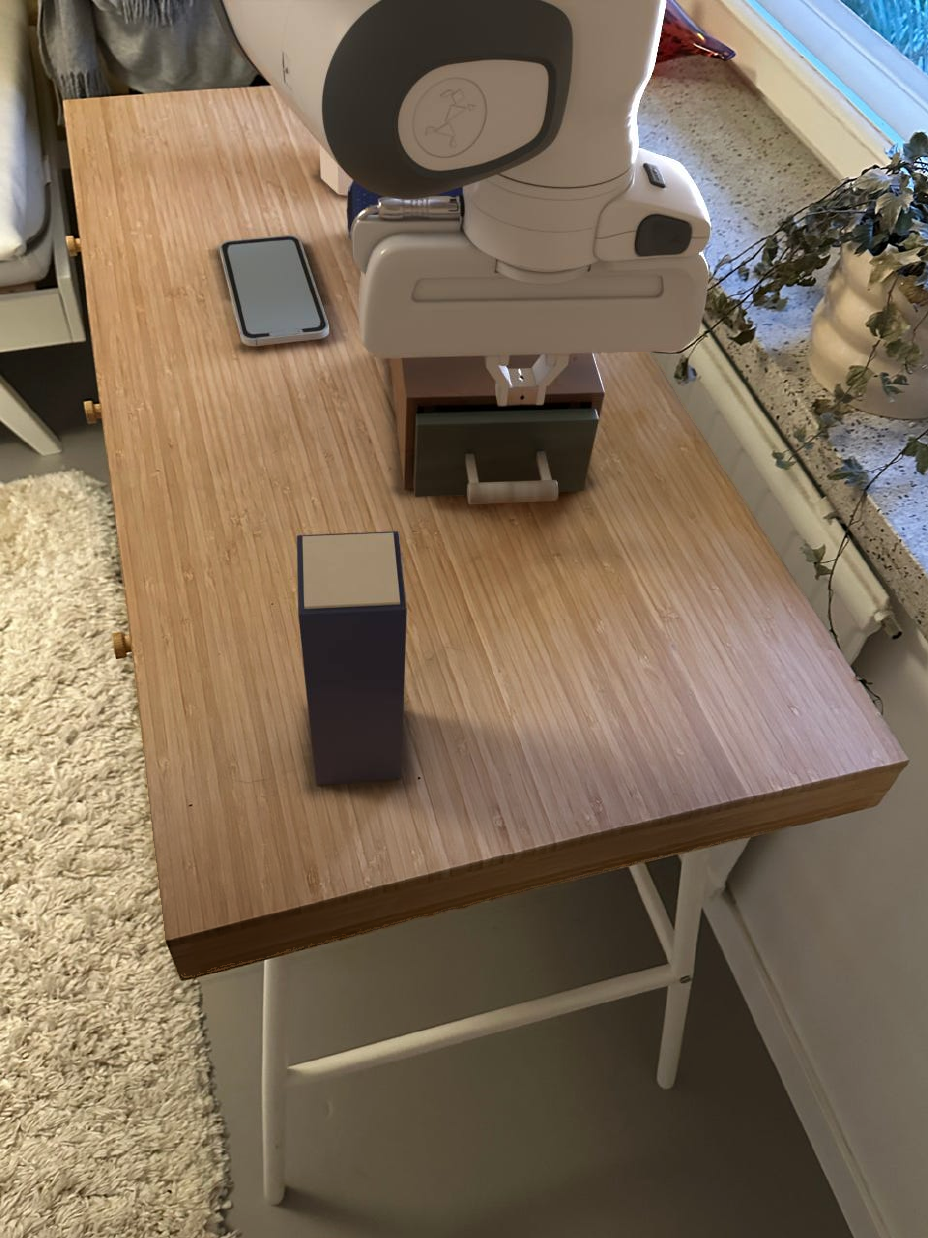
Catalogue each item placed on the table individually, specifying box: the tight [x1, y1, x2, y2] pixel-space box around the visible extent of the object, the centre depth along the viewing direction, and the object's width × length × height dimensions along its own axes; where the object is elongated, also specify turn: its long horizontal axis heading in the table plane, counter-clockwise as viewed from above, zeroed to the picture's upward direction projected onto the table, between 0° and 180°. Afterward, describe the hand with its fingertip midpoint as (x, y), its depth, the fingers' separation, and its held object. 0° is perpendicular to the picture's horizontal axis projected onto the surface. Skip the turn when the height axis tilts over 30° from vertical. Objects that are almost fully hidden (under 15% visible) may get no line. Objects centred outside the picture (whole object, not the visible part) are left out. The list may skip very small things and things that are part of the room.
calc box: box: [296, 530, 408, 786], centre depth 55 cm, size 5×5×16 cm
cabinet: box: [389, 353, 606, 491], centre depth 77 cm, size 17×14×9 cm
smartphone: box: [218, 234, 330, 347], centre depth 88 cm, size 7×1×15 cm
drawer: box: [413, 402, 600, 505], centre depth 74 cm, size 20×12×7 cm, turn 7°
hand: (518, 399), depth 65 cm, fingers closed
